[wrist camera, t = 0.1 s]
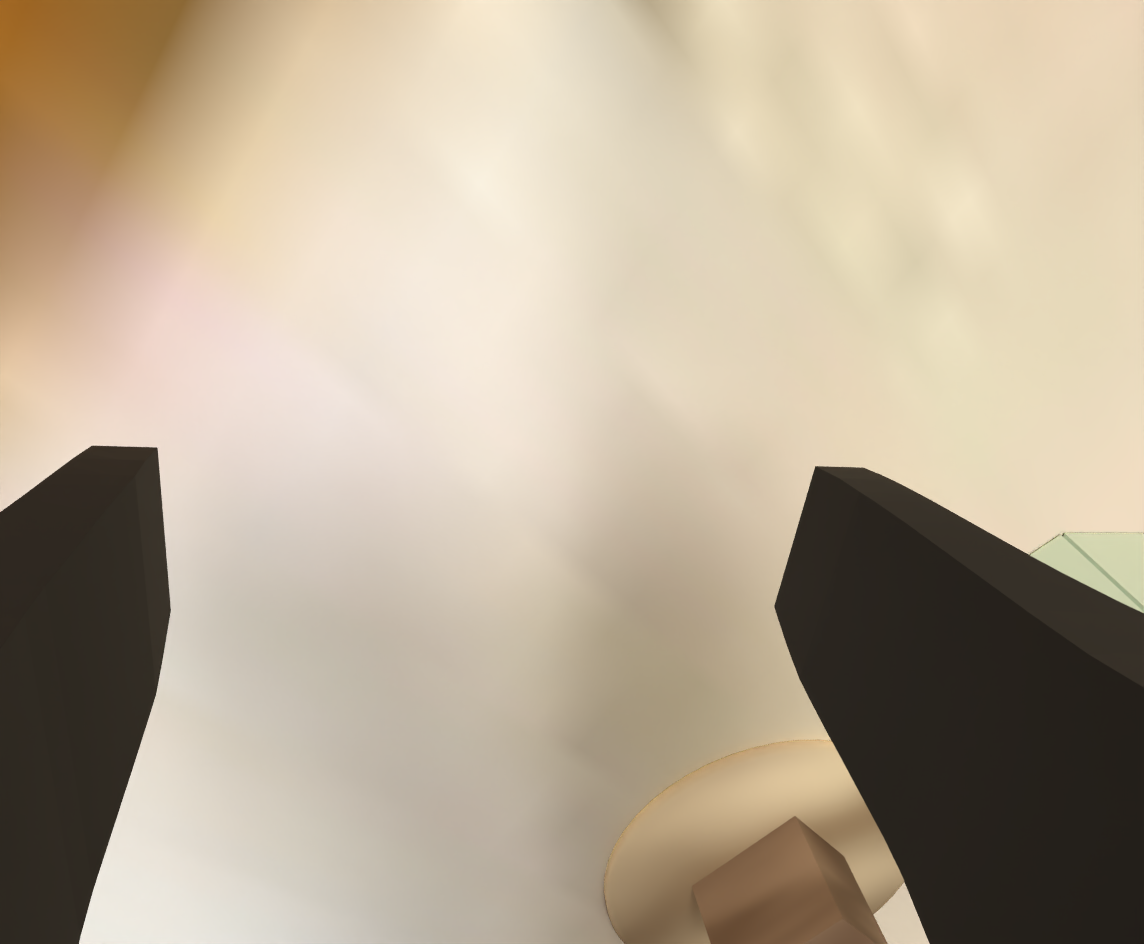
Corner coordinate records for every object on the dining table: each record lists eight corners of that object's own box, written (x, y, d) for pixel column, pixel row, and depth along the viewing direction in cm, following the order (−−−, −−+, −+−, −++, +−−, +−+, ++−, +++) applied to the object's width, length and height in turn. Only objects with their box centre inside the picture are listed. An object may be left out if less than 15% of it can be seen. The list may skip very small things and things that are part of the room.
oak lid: (965, 829, 33) (1040, 945, 29) (722, 987, 35) (763, 1114, 32) (807, 675, 28) (874, 794, 24) (533, 872, 30) (557, 1007, 26)
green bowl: (1130, 762, 32) (1246, 895, 28) (880, 777, 30) (964, 922, 26) (1258, 533, 28) (1419, 649, 23) (974, 533, 26) (1095, 659, 22)
